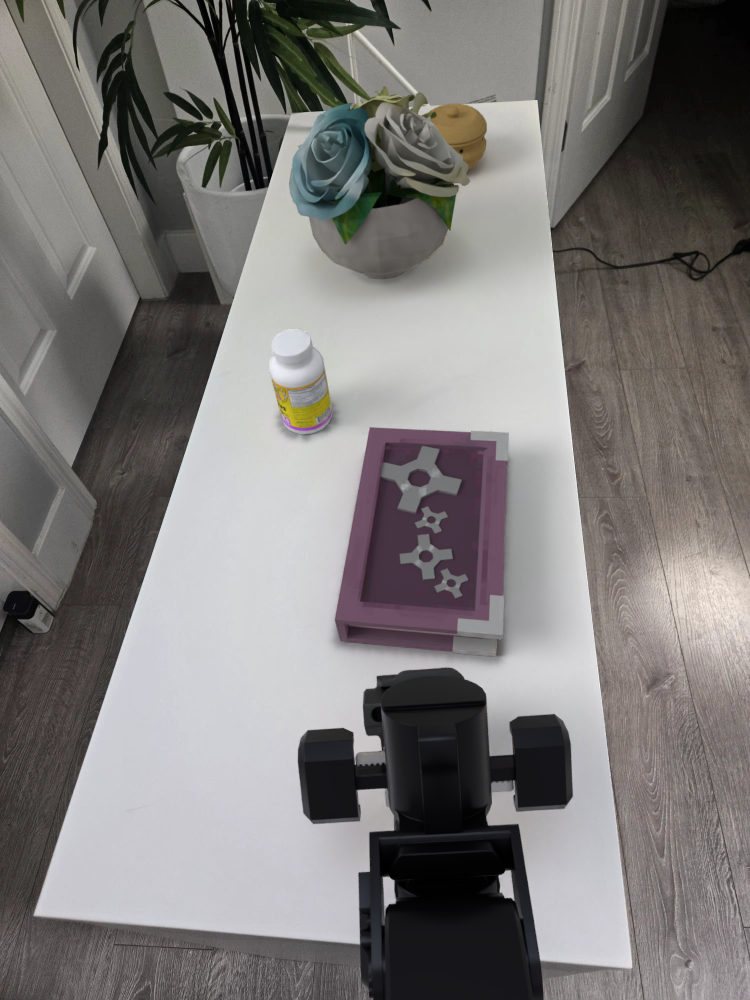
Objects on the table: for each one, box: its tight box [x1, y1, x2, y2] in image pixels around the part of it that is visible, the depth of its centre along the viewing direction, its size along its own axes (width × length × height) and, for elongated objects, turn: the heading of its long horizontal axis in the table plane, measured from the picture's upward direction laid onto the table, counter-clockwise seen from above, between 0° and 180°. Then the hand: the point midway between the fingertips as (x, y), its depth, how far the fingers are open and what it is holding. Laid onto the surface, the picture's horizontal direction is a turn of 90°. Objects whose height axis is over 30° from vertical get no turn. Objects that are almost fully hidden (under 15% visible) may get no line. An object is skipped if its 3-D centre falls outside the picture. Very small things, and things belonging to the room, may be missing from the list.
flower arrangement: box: [288, 85, 471, 280], centre depth 100 cm, size 25×25×24 cm
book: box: [334, 426, 510, 658], centre depth 77 cm, size 25×16×5 cm, turn 172°
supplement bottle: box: [268, 328, 334, 435], centre depth 87 cm, size 7×7×13 cm
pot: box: [428, 103, 488, 171], centre depth 121 cm, size 12×12×10 cm
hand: (428, 714), depth 58 cm, fingers closed, pressing on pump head
